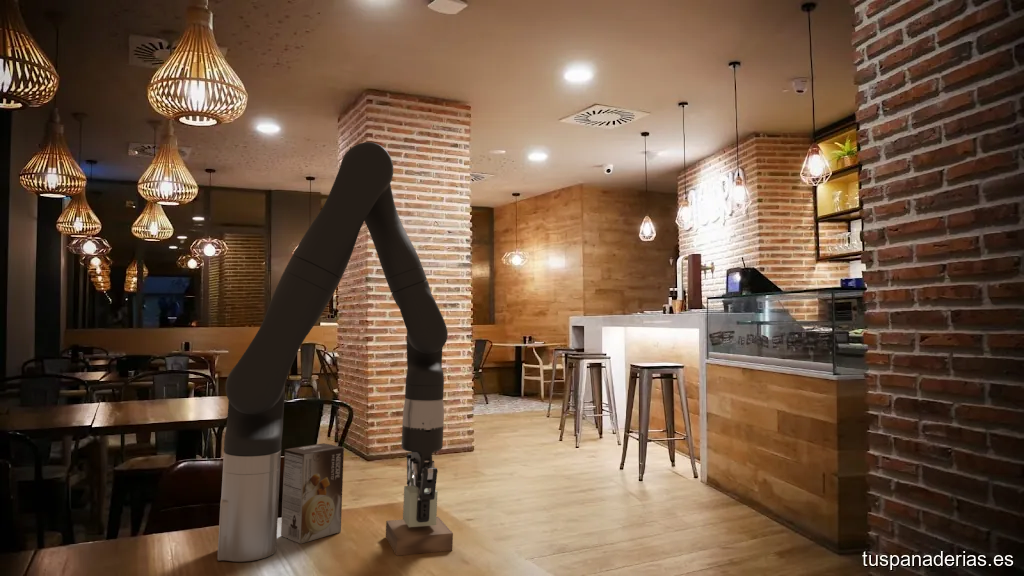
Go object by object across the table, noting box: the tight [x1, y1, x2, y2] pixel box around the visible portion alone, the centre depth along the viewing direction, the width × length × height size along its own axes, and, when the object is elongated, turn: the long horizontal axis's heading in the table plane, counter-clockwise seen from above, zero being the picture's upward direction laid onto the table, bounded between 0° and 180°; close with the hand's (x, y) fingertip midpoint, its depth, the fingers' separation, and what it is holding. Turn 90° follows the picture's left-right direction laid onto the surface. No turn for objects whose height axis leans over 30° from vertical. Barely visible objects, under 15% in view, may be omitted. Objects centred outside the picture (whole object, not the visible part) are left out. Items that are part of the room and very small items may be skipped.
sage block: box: [402, 485, 439, 527], centre depth 122 cm, size 5×5×6 cm
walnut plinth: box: [385, 516, 454, 557], centre depth 122 cm, size 10×10×3 cm
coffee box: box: [280, 442, 345, 544], centre depth 125 cm, size 9×6×16 cm
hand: (419, 516), depth 122 cm, fingers closed on sage block, 5 cm apart
